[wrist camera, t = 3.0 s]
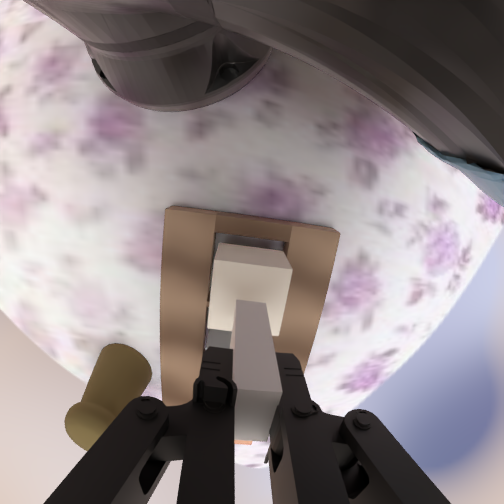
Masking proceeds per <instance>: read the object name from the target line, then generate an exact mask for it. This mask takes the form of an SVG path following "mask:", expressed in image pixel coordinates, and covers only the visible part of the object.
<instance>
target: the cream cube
mask: <svg viewBox="0 0 504 504" xmlns="http://www.w3.org/2000/svg"><path fill="white" fill-rule="evenodd" d="M292 271H293V269H292V267H291V265H290V263H289V261H288V259H287V257H286V255H285V254H284V252H283V251H280V250H272V249H265V248H257V247H250V246H242V245H235V244H227V243H220V242H219V245H218V249H217V252H216V255H215V258H214V265H213V275H212V284H211V294H210V304H209V314H208V325H207V328H210V329H217V330H225V331H232V327H233V320H234V312H235V305H236V299H237V300H245V301H253V302H262V303H266V306H267V312H268V317H269V322H270V327H271V333H272V336H279V332H280V328H281V323H282V319H283V314H284V309H285V305H286V300H287V295H288V290H289V286H290V281H291V276H292Z"/></svg>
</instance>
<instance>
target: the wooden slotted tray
mask: <svg viewBox="0 0 504 504" xmlns="http://www.w3.org/2000/svg"><path fill="white" fill-rule="evenodd" d="M216 232H217V233H224V234H232V235H239V236H247V237H254V238H261V239H269V240H276V241H283V242H284V248H283V252H284V254H285V255H286V257H287V259H288V261H289V263H290V265H291V267H292V269H293V271H292V276H291V281H290V286H289V290H288V295H287V300H286V305H285V309H284V314H283V319H282V323H281V328H280V332H279V336H272V338H273V343H274V349H275V352H279V353H293V354H294V355H295V356H296V357H297V359H298V360H299V361H300V364H301V367H302V371H303V374H304V371H305V368H306V365H307V362H308V358H309V355H310V352H311V348H312V345H313V342H314V338H315V335H316V331H317V328H318V324H319V320H320V317H321V313H322V309H323V306H324V302H325V298H326V294H327V290H328V286H329V282H330V278H331V273H332V269H333V265H334V261H335V256H336V252H337V247H338V242H339V238H340V233H339V232H338V231H336V230H335V229H333V228H329V227H323V226H317V225H310V224H304V223H298V222H291V221H284V220H278V219H271V218H264V217H257V216H250V215H243V214H235V213H228V212H220V211H212V210H204V209H196V208H188V207H179V206H170V207H168V208H166V209H165V219H164V231H163V246H162V264H161V289H160V361H161V386H162V402H163V403H164V404H165V405H166V406H177V405H182V404H185V403H188V402H189V401H190V400H192V399H193V384H194V382H195V380H196V379H197V378H198V377H199V372H200V367H201V362H202V356H203V352H204V351H205V349H204V346H205V334H206V322H207V311H208V307H209V304H210V294H211V291H209V290H210V281H211V271H212V262H213V253H214V244H215V236H216Z"/></svg>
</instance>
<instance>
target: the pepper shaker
mask: <svg viewBox="0 0 504 504" xmlns="http://www.w3.org/2000/svg"><path fill="white" fill-rule="evenodd" d="M151 377H152V371H151V367H150V365H149V363H148V361H147V360H146V359H145V358H144V357H143V355H142V354H141V353H139V352H138V351H136V350H135V349H133V348H131V347H129V346H126V345H124V344H116V343H115V344H109V345H107V346H106V347H104V348H103V349H102V351H101V353H100V355H99V357H98V360H97V362H96V365H95V367H94V369H93V372H92V374H91V377H90V379H89V382H88V384H87V387H86V389H85V392H84V395H83V397H82V400H81V402H79V403H77V404H75V405H73V406H72V407H71V408H70V409H69V411H68V412H67V415H66V417H65V428H66V432H67V434H68V435H69V437H70V438H71V439H72V440H73V441H74V442H75V443H76V444H77V445H78V446H80V447H81V448H83V449H84V450H86V451H88V450H89V449H90V448H91V447H92V445H93V444H94V443H95V442H96V441H97V440H98V438H99V437H100V436H101V435H102V434H103V432H104V431H105V430H106V429H107V428H108V426H109V425H110V424H111V423H112V422H113V420H114V419H115V418H116V417H117V416H118V414H119V413H120V412H121V411H122V410H123V409H124V407H125V406H126V405H127V404H128V403H129V402H130V401H131V400H133V399H134V398H137V397H140V396H141V395H142V393H143V392H144V390H145V388H146V387H147V385H148V384H149V382H150V380H151Z"/></svg>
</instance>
